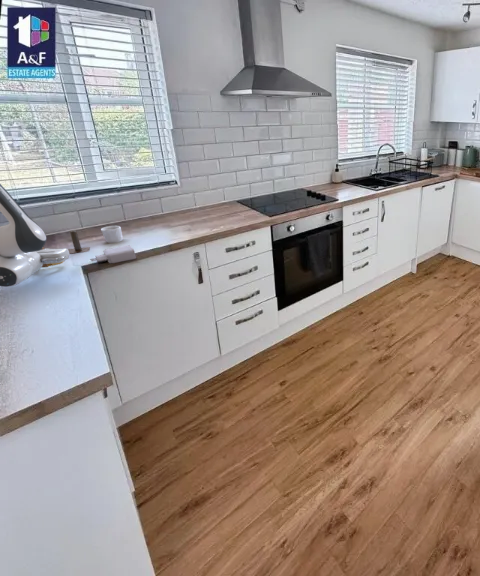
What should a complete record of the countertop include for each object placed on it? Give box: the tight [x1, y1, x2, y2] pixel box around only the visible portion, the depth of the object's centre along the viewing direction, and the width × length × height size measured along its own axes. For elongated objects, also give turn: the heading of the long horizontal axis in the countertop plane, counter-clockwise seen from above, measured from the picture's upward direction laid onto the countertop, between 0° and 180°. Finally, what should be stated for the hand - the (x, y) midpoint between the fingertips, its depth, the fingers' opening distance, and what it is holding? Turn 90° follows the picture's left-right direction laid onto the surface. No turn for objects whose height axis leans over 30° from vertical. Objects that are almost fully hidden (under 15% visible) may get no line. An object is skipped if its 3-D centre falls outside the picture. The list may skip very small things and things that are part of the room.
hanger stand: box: [67, 229, 91, 255], centre depth 163 cm, size 8×8×10 cm
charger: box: [89, 244, 137, 264], centre depth 154 cm, size 5×9×15 cm
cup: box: [100, 225, 124, 244], centre depth 178 cm, size 11×8×8 cm
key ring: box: [40, 245, 65, 269], centre depth 141 cm, size 10×8×11 cm
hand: (41, 250), depth 139 cm, fingers closed on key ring
